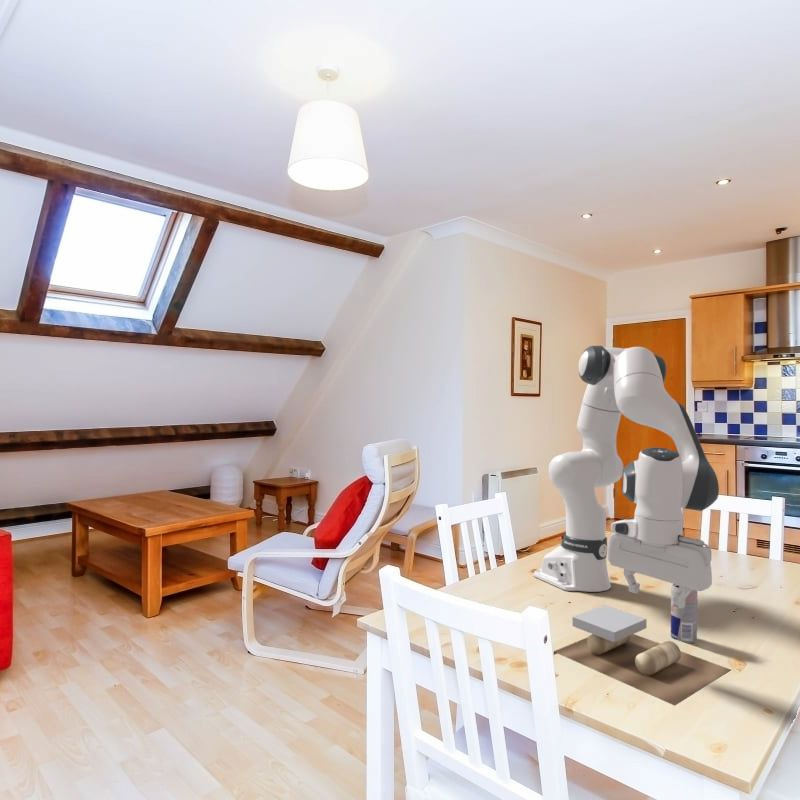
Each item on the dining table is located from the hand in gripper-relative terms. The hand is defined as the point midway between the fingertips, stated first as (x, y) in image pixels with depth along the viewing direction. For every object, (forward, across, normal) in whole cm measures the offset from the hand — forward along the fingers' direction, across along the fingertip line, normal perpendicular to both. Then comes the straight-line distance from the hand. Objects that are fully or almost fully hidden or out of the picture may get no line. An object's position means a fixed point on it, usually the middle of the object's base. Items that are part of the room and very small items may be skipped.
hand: (655, 599), depth 115 cm
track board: (+15, +3, 0) cm, 15 cm away
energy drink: (+15, +4, -20) cm, 25 cm away
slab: (+9, +10, 0) cm, 14 cm away
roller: (+14, -1, 0) cm, 14 cm away
